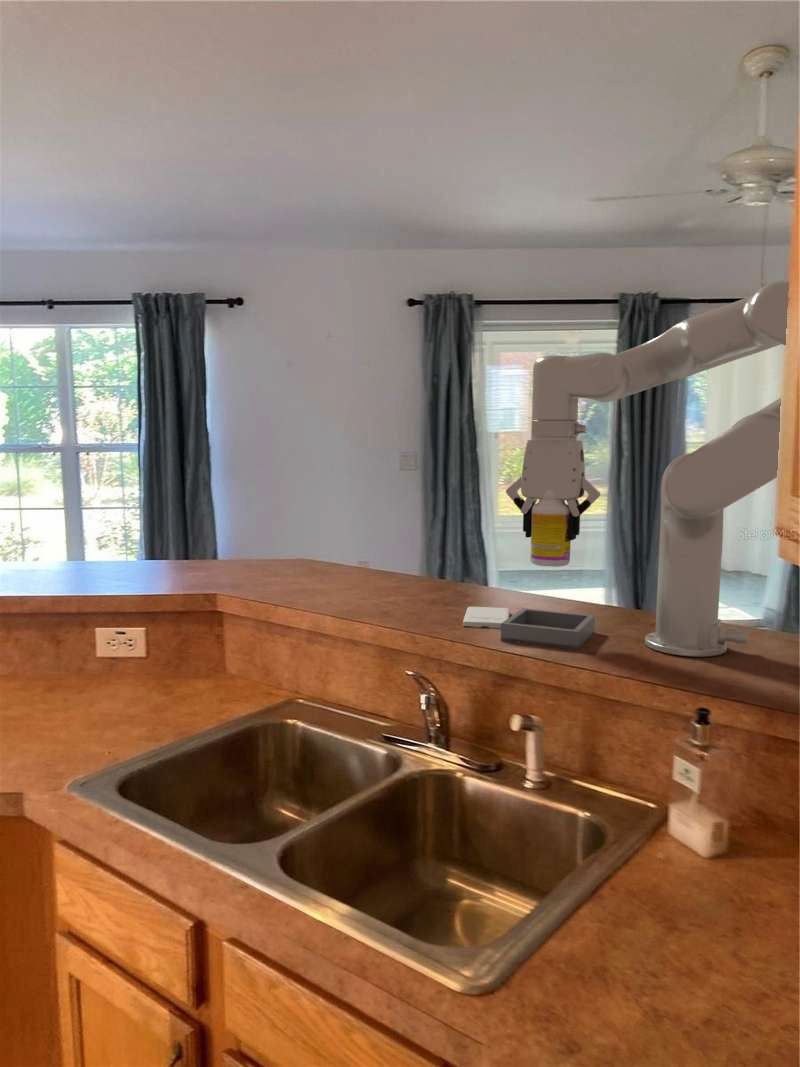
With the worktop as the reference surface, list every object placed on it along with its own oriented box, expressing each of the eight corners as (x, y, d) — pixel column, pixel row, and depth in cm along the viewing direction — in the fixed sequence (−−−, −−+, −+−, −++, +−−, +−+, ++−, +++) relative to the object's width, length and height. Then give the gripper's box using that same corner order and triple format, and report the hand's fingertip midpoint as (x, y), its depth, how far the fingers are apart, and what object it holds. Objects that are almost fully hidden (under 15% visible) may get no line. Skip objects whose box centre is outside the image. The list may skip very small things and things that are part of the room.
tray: (594, 632, 138) (594, 615, 137) (577, 650, 126) (578, 631, 126) (522, 624, 143) (523, 608, 143) (500, 640, 132) (501, 623, 131)
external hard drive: (509, 616, 152) (507, 631, 140) (467, 614, 154) (462, 629, 142) (509, 608, 152) (508, 622, 140) (467, 606, 154) (462, 620, 141)
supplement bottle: (569, 568, 129) (572, 490, 128) (529, 566, 131) (531, 489, 129) (569, 561, 136) (572, 488, 134) (530, 560, 137) (533, 487, 136)
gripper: (611, 432, 130) (606, 538, 132) (510, 431, 137) (508, 532, 140) (602, 432, 123) (597, 544, 126) (497, 431, 131) (494, 537, 133)
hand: (550, 537), depth 133 cm, fingers closed on supplement bottle, 6 cm apart
